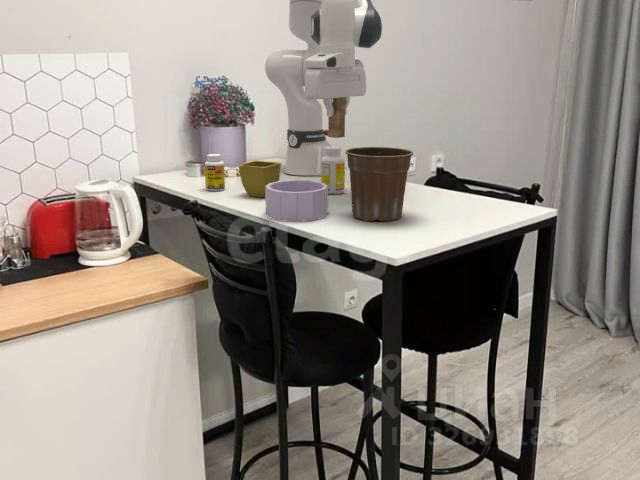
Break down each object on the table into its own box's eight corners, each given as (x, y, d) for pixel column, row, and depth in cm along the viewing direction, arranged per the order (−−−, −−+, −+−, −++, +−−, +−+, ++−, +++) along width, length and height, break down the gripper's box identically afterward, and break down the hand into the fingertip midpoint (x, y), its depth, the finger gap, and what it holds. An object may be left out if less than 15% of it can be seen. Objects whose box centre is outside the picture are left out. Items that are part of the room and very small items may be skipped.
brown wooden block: (335, 135, 170) (336, 81, 166) (344, 136, 168) (345, 81, 164) (328, 136, 168) (328, 81, 164) (337, 137, 166) (337, 81, 162)
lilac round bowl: (296, 203, 171) (296, 177, 169) (339, 213, 162) (339, 185, 160) (254, 213, 161) (253, 186, 159) (297, 224, 151) (297, 195, 149)
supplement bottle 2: (345, 190, 188) (345, 146, 184) (343, 195, 182) (344, 149, 178) (322, 189, 189) (322, 145, 185) (320, 194, 182) (320, 149, 179)
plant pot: (369, 205, 170) (371, 144, 166) (422, 215, 160) (426, 150, 156) (331, 217, 158) (331, 151, 153) (386, 228, 148) (388, 158, 144)
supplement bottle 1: (205, 192, 185) (203, 156, 182) (206, 188, 190) (204, 153, 187) (225, 191, 185) (223, 156, 183) (225, 187, 191) (223, 153, 188)
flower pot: (238, 196, 179) (237, 164, 177) (256, 190, 187) (255, 160, 184) (265, 200, 175) (264, 167, 173) (282, 194, 183) (281, 162, 180)
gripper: (353, 59, 172) (352, 112, 176) (300, 60, 157) (300, 117, 161) (372, 59, 168) (371, 113, 172) (319, 60, 153) (319, 119, 157)
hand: (336, 115), depth 166 cm, fingers closed on brown wooden block, 3 cm apart
